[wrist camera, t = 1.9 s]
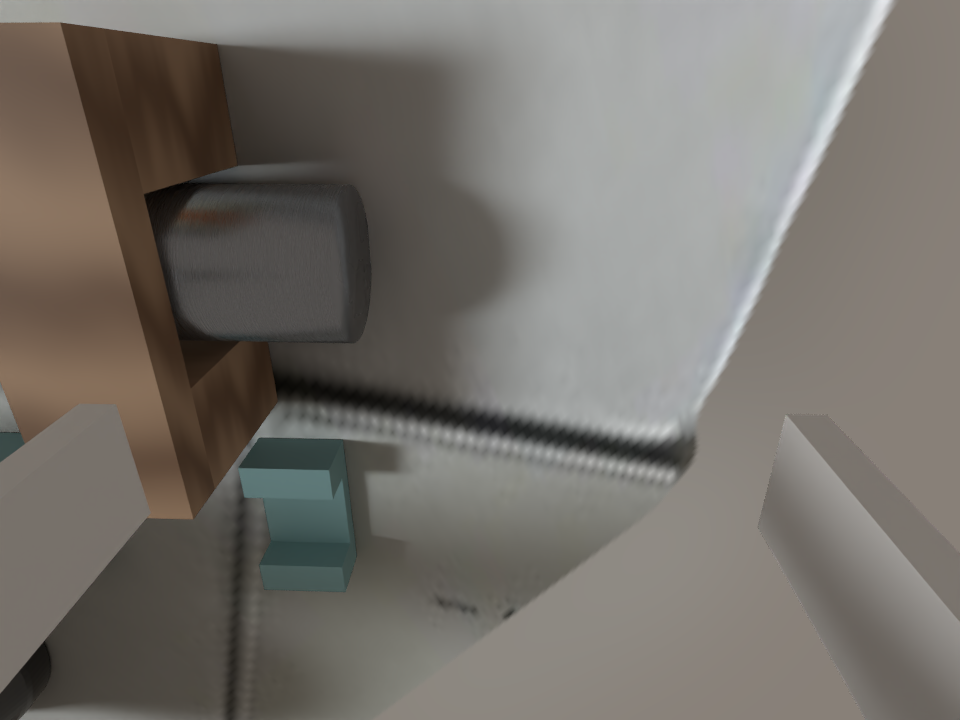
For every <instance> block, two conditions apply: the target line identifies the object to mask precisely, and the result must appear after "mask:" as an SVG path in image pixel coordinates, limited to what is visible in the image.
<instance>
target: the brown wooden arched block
mask: <svg viewBox="0 0 960 720" xmlns="http://www.w3.org/2000/svg"><path fill="white" fill-rule="evenodd" d="M235 166H238V165H237V159H236V153H235V147H234V141H233V135H232V129H231V124H230V118H229V112H228V106H227V100H226V94H225V88H224V82H223V77H222V71H221V65H220V59H219V53H218V47H217V44H211V43H204V42H196V41H189V40H182V39H175V38H168V37H160V36H153V35H146V34H139V33H132V32H125V31H117V30H110V29H103V28H96V27H89V26H82V25H74V24H67V23H0V382H1V385H2V387H3V390H4V392H5V395H6V397H7V400H8V403H9V405H10V408H11V410H12V413H13V415H14V418H15V420H16V423H17V425H18V428H19V430H20V433H21V435H22V438H23V440H24V443H25V444H26V443H27V442H28V441H30V440H31V439H32V438H34V437H35V436H36V435H38V434H39V433H40V432H42V431H43V430H45V429H46V428H47V427H49V426H50V425H51V424H53V423H54V422H55V421H57V420H58V419H59V418H61V417H62V416H63V415H65V414H66V413H67V412H69V411H70V410H71V409H73V408H74V407H75V406H77V405H78V404H116V406H117V409H118V412H119V415H120V418H121V421H122V424H123V428H124V431H125V434H126V437H127V440H128V443H129V446H130V450H131V453H132V456H133V459H134V462H135V465H136V468H137V472H138V475H139V478H140V481H141V484H142V487H143V490H144V494H145V497H146V500H147V503H148V506H149V509H150V512H151V513H150V515H149V516H148V517H147V518H160V519H194V518H195V516H196V515H197V514H198V512H199V511H200V509H201V508H202V507H203V505H204V504H205V502H206V501H207V500H208V498H209V497H210V495H211V494H212V493H213V491H214V490H215V488H216V487H217V486H218V484H219V483H220V482H221V480H222V479H223V477H224V476H225V475H226V473H227V472H228V470H229V469H230V468H231V466H232V465H233V463H234V462H235V461H236V459H237V458H238V456H239V455H240V454H241V452H242V451H243V449H244V448H245V447H246V445H247V444H248V443H249V441H250V440H251V438H252V437H253V436H254V434H255V433H256V431H257V430H258V429H259V427H260V426H261V424H262V423H263V422H264V420H265V419H266V417H267V416H268V415H269V413H270V412H271V410H272V409H273V408H274V406H275V405H276V404H277V402H278V399H277V393H276V388H275V382H274V376H273V370H272V364H271V358H270V352H269V346H268V342H255V341H191V340H179V338H178V334H177V330H176V326H175V322H174V318H173V313H172V309H171V305H170V301H169V297H168V293H167V288H166V284H165V280H164V276H163V272H162V268H161V264H160V259H159V255H158V251H157V247H156V243H155V239H154V235H153V230H152V226H151V222H150V218H149V214H148V210H147V206H146V201H145V197H144V194H146V193H149V192H152V191H156V190H159V189H162V188H165V187H169V186H172V185H175V184H179V183H182V182H185V181H189V180H192V179H195V178H198V177H202V176H205V175H208V174H212V173H215V172H218V171H222V170H225V169H228V168H232V167H235Z"/></svg>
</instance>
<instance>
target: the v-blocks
mask: <svg viewBox="0 0 960 720" xmlns="http://www.w3.org/2000/svg"><path fill="white" fill-rule="evenodd" d="M24 444H25V443H24V440H23V438H22V435H21V433H2V432H0V462H2V461H3V460H4V459H6V458H7V457H8V456H10V455H11V454H12V453H14V452H15V451H16V450H18V449H19V448H20V447H22V446H23V445H24ZM238 470H239V474H240V479H241V484H242V488H243V493H244V498H263V502H264V508H265V513H266V518H267V523H268V528H269V533H270V538H271V543H270V545H269V547H268V548H267V550H266V552H265V554H264V556H263V558H262V560H261V562H260V564H259V567H260V572H261V576H262V581H263V586H264V590H292V591H324V592H346V589H347V586H348V583H349V579H350V576H351V573H352V570H353V567H354V563H355V560H356V557H357V553H356V545H355V537H354V528H353V520H352V512H351V503H350V495H349V486H348V478H347V470H346V461H345V453H344V445H343V440H329V439H282V438H259V439H258V440H257V442H256V443H255V445H254V446H253V448H252V449H251V450H250V452H249V453H248V455H247V456H246V458H245V459H244V460H243V462H242V463H241V465H240V466H239V468H238Z"/></svg>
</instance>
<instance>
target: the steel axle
mask: <svg viewBox="0 0 960 720" xmlns="http://www.w3.org/2000/svg"><path fill="white" fill-rule="evenodd" d="M144 197H145V201H146V206H147V210H148V214H149V218H150V222H151V226H152V230H153V235H154V239H155V243H156V247H157V251H158V255H159V259H160V264H161V268H162V272H163V276H164V280H165V284H166V288H167V293H168V297H169V301H170V305H171V309H172V313H173V318H174V322H175V326H176V330H177V334H178V338H179V340H191V341H255V342H320V343H355V342H357V341H358V340H359V338H360V337H361V335H362V333H363V330H364V328H365V324H366V320H367V315H368V309H369V302H370V290H371V262H370V250H369V238H368V226H367V220H366V215H365V211H364V207H363V204H362V201H361V198H360V196H359V194H358V192H357V190H356V189H355V188H354V187H353V186H352V185H305V184H175V185H172V186H169V187H165V188H162V189H159V190H156V191H152V192H149V193H146V194H144Z"/></svg>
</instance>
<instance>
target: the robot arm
mask: <svg viewBox="0 0 960 720" xmlns="http://www.w3.org/2000/svg"><path fill="white" fill-rule="evenodd" d="M150 513H151V512H150V509H149V506H148V503H147V500H146V497H145V494H144V490H143V487H142V484H141V481H140V478H139V475H138V472H137V468H136V465H135V462H134V459H133V456H132V453H131V450H130V446H129V443H128V440H127V437H126V434H125V431H124V428H123V424H122V421H121V418H120V415H119V412H118V409H117V406H116V404H78V405H77V406H75V407H74V408H73V409H71V410H70V411H69V412H67V413H66V414H65V415H63V416H62V417H61V418H59V419H58V420H57V421H55V422H54V423H53V424H51V425H50V426H49V427H47V428H46V429H45V430H43V431H42V432H40V433H39V434H38V435H36V436H35V437H34V438H32V439H31V440H30V441H28V442H27V443H26V444H24V445H23V446H22V447H20V448H19V449H18V450H16V451H15V452H14V453H12V454H11V455H10V456H8V457H7V458H6V459H4V460H3V461H2V462H0V720H19V719H20V718H21V717H22V716H23V715H24V714H25V713H26V711H27V710H28V709H29V707H30V706H31V705H32V703H33V702H34V701H35V700H36V698H37V697H38V696H39V694H40V693H41V692H42V690H43V689H44V688H45V686H46V684H47V682H48V680H49V676H50V660H49V656H48V653H47V650H46V648H45V646H44V644H43V642H44V641H45V639H46V638H47V637H48V636H49V635H50V633H51V632H52V631H53V630H54V629H55V627H56V626H57V625H58V624H59V623H60V621H61V620H62V619H63V618H64V617H65V615H66V614H67V613H68V612H69V611H70V609H71V608H72V607H73V606H74V605H75V603H76V602H77V601H78V600H79V599H80V597H81V596H82V595H83V594H84V593H85V591H86V590H87V589H88V588H89V587H90V585H91V584H92V583H93V582H94V581H95V579H96V578H97V577H98V576H99V575H100V573H101V572H102V571H103V570H104V569H105V567H106V566H107V565H108V564H109V563H110V561H111V560H112V559H113V558H114V557H115V555H116V554H117V553H118V552H119V551H120V549H121V548H122V547H123V546H124V545H125V543H126V542H127V541H128V540H129V539H130V537H131V536H132V535H133V534H134V533H135V531H136V530H137V529H138V528H139V527H140V525H141V524H142V523H143V522H144V521H145V519H146V518H147V517H148V516H149V515H150ZM758 529H759V530H760V532H761V534H762V536H763V538H764V539H765V541H766V543H767V545H768V547H769V548H770V550H771V552H772V554H773V555H774V557H775V559H776V561H777V563H778V564H779V566H780V568H781V570H782V572H783V573H784V575H785V577H786V579H787V581H788V582H789V584H790V586H791V588H792V589H793V591H794V593H795V595H796V597H797V598H798V600H799V602H800V604H801V606H802V607H803V609H804V611H805V613H806V614H807V616H808V618H809V620H810V622H811V623H812V625H813V627H814V629H815V630H816V632H817V634H818V636H819V637H820V640H821V641H822V643H823V645H824V646H825V648H826V650H827V652H828V654H829V656H830V657H831V659H832V661H833V663H834V664H835V666H836V668H837V670H838V671H839V673H840V675H841V677H842V679H843V681H844V682H845V684H846V686H847V688H848V690H849V691H850V693H851V695H852V697H853V698H854V700H855V702H856V704H857V706H858V707H859V709H860V711H861V713H862V715H863V716H864V718H865V720H960V553H959V552H958V551H957V550H956V549H955V548H954V546H953V545H952V544H950V542H949V541H948V540H947V539H946V538H945V537H944V536H943V535H942V534H941V533H940V532H939V531H938V530H937V529H936V528H935V527H934V526H933V525H932V523H930V521H929V520H928V519H927V518H926V517H925V516H924V515H923V514H922V513H921V512H920V511H919V510H918V509H917V508H916V507H915V506H914V505H913V504H912V503H911V502H910V501H909V500H908V498H906V496H905V495H904V494H902V492H901V491H900V490H899V489H898V488H897V487H896V486H895V485H894V484H893V483H892V482H891V481H890V480H889V479H888V478H887V477H886V476H885V474H884V473H883V472H882V471H881V470H880V469H879V468H878V467H877V466H876V465H875V464H874V463H873V462H872V461H871V460H870V459H869V458H868V457H867V456H866V455H865V454H864V453H863V452H862V450H861V449H860V448H859V447H858V446H857V445H856V444H855V443H854V442H853V441H852V440H851V439H850V438H849V437H848V436H847V435H846V434H845V433H844V432H843V431H842V430H841V429H840V428H839V427H838V425H837V424H835V422H834V421H833V420H832V419H831V418H830V417H829V416H828V415H809V414H786V416H785V420H784V424H783V428H782V432H781V436H780V440H779V444H778V449H777V452H776V456H775V460H774V464H773V468H772V472H771V476H770V480H769V484H768V488H767V492H766V496H765V500H764V504H763V508H762V512H761V516H760V520H759V524H758Z"/></svg>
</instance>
